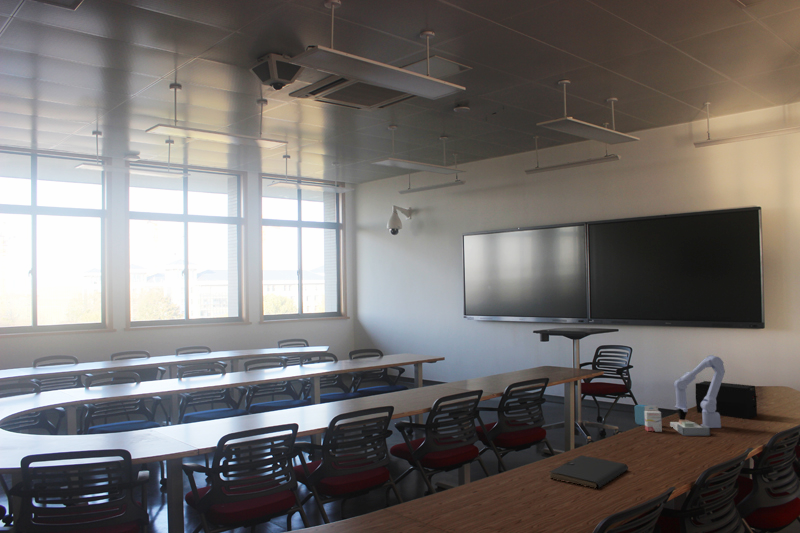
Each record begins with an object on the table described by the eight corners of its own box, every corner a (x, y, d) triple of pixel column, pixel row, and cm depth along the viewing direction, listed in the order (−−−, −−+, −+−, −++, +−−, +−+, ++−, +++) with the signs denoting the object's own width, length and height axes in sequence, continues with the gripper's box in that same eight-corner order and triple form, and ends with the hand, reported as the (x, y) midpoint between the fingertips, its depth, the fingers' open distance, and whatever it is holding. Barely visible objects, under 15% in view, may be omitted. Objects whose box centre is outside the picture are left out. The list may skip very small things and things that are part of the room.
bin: (704, 431, 336) (703, 424, 336) (710, 435, 327) (709, 427, 327) (677, 431, 338) (677, 424, 338) (683, 435, 329) (682, 427, 330)
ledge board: (693, 425, 351) (693, 421, 351) (702, 431, 337) (702, 427, 337) (670, 425, 353) (670, 421, 353) (678, 431, 339) (678, 427, 339)
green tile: (690, 424, 344) (690, 421, 344) (693, 426, 339) (693, 423, 339) (682, 424, 344) (681, 421, 345) (685, 426, 340) (684, 423, 340)
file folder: (580, 454, 287) (628, 463, 270) (581, 462, 287) (628, 472, 270) (548, 470, 263) (598, 482, 246) (549, 479, 263) (598, 491, 246)
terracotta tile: (687, 422, 349) (687, 419, 349) (690, 424, 344) (690, 421, 344) (678, 422, 350) (678, 419, 350) (681, 424, 345) (681, 421, 345)
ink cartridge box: (647, 431, 341) (646, 407, 342) (645, 429, 346) (643, 405, 347) (662, 431, 340) (660, 407, 341) (659, 429, 345) (657, 405, 346)
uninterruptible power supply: (707, 409, 397) (705, 380, 398) (760, 416, 371) (758, 385, 372) (696, 412, 387) (694, 383, 388) (750, 420, 361) (748, 389, 362)
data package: (656, 425, 355) (655, 406, 356) (653, 426, 353) (652, 407, 353) (638, 422, 365) (637, 404, 365) (635, 423, 362) (634, 405, 362)
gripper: (670, 397, 359) (671, 418, 358) (678, 401, 345) (679, 423, 344) (682, 397, 358) (683, 418, 357) (690, 401, 344) (691, 423, 343)
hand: (682, 421), depth 351 cm, fingers closed
